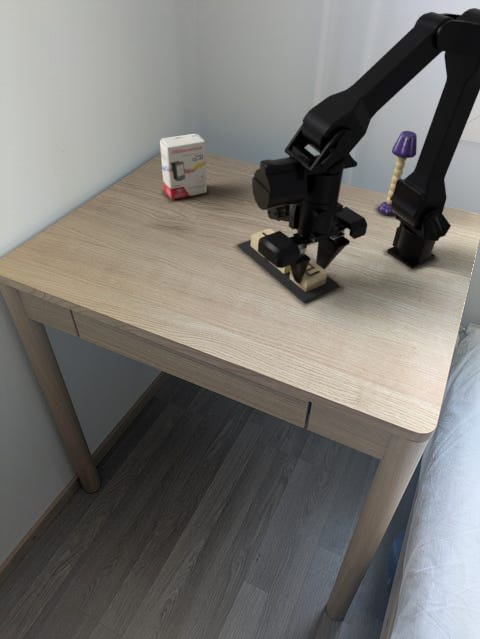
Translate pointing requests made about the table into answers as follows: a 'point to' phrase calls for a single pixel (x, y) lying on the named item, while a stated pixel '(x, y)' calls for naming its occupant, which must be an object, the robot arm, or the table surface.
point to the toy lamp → (399, 165)
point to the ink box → (183, 165)
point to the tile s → (311, 277)
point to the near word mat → (287, 277)
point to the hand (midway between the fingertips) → (308, 277)
